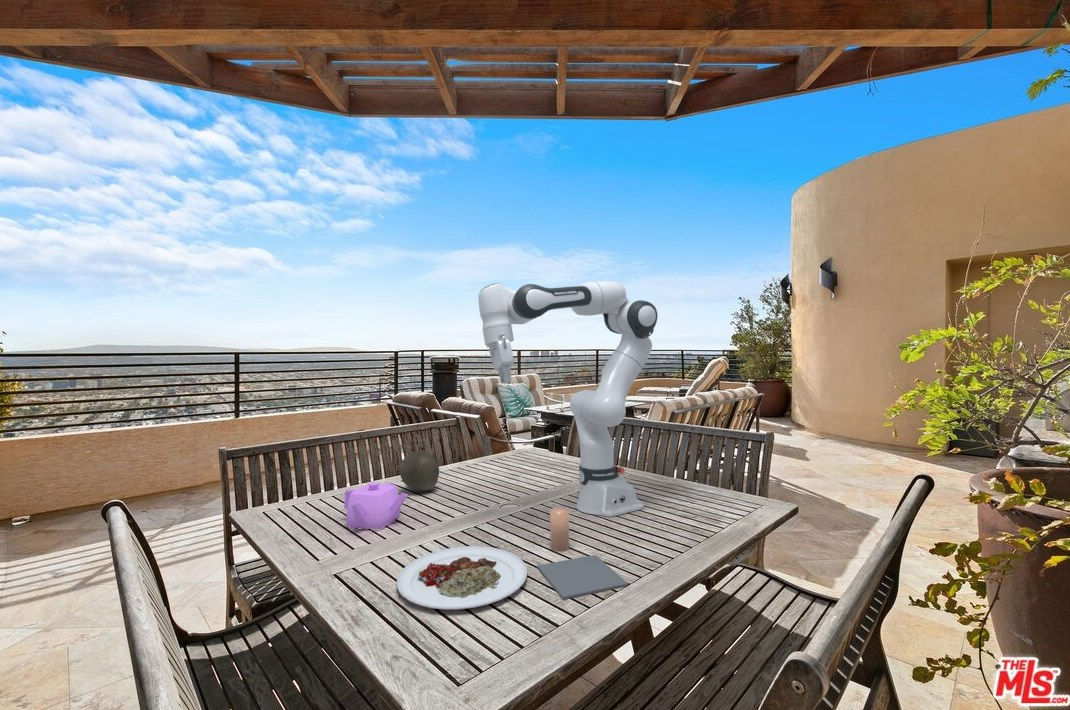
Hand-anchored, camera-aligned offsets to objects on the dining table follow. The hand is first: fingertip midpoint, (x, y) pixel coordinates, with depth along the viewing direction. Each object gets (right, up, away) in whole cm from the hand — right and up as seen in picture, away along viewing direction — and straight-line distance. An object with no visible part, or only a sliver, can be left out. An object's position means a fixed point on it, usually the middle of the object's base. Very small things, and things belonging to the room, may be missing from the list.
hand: (506, 382), depth 145 cm
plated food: (-8, -45, -32) cm, 56 cm away
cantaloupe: (-35, -44, +37) cm, 67 cm away
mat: (+19, -44, -32) cm, 58 cm away
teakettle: (-41, -44, +5) cm, 61 cm away
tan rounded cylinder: (+15, -44, -15) cm, 49 cm away
